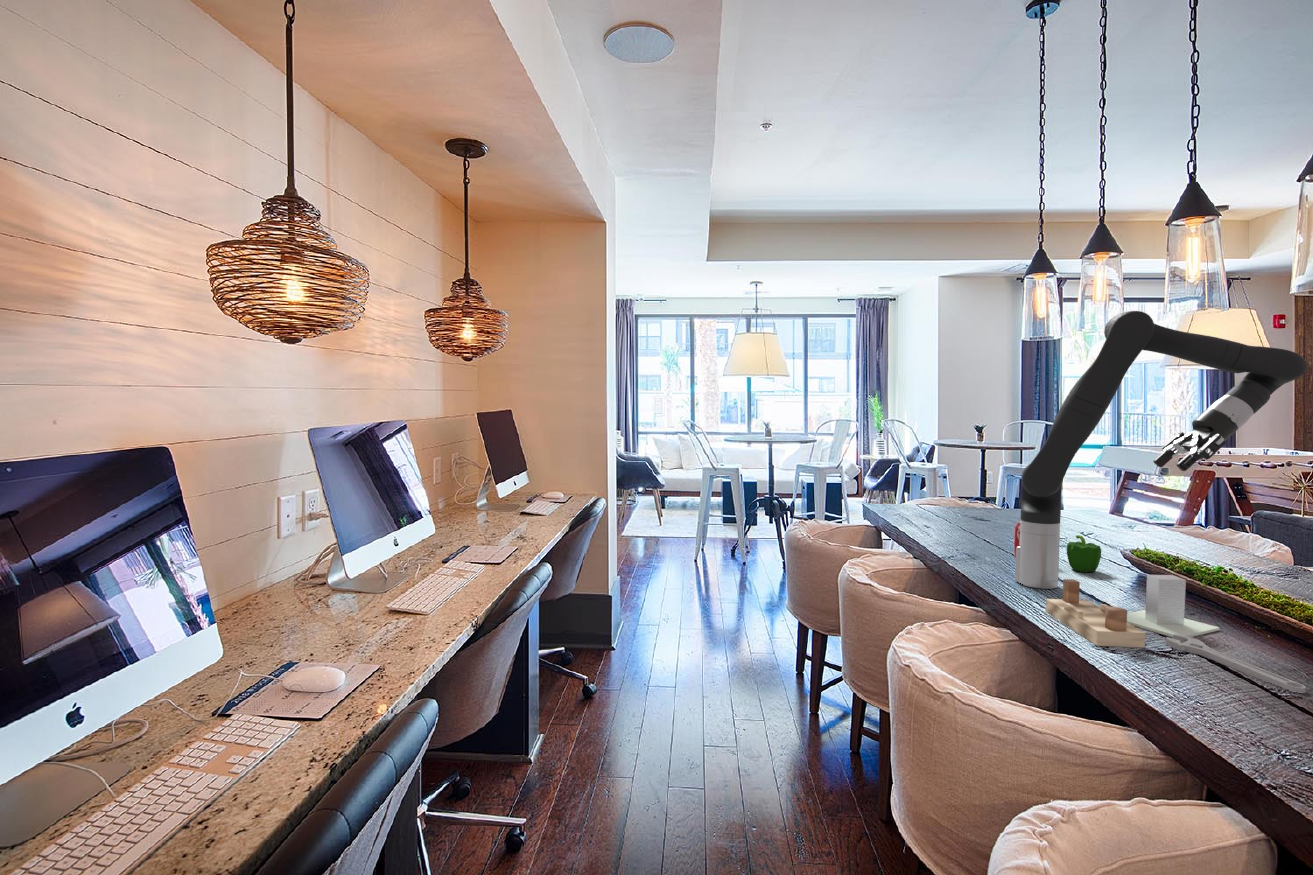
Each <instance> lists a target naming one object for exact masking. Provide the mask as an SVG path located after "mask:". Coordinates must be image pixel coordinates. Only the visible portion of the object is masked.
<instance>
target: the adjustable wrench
mask: <svg viewBox="0 0 1313 875" xmlns="http://www.w3.org/2000/svg"><path fill="white" fill-rule="evenodd" d="M1165 644H1166V645H1167V646H1168V647H1170V648H1172V649H1175V650H1177V651H1179V652H1185V653H1191V654H1194V655H1195V654H1196V655H1199V656H1202V657H1205V658H1207V659H1210V660H1212V661H1215V662H1217V663H1219V664H1222V665H1224V666H1227V667H1229V668H1232V669H1234V670H1237V671H1239V672H1242V673H1244V674H1246V675H1249V676H1251V677H1253V676H1254V677H1253V678H1256V679H1259V680H1260V679H1261V680H1260V681H1263V682H1266V683H1268V682H1270V683H1272V684H1271V685H1273V684H1275V685H1278V686H1280V687H1282V688H1285V689H1289V690H1292V691H1297V692H1305V693H1306V689H1307V688H1306V687H1307V686H1305V685H1304V684H1301V683H1299V682H1297V681H1295V680H1292V679H1289V678H1286V677H1285V676H1282V675H1279V674H1276V673H1273V672H1271V671H1268V670H1267V669H1266V670H1265V669H1264V668H1260V667H1259V666H1256V665H1254V664H1251V663H1248V662H1246V661H1243V660H1241V659H1238V658H1235V657H1233V656H1231V655H1228V654H1225V653H1223V652H1220V651H1217V650H1216V649H1213V648H1211V647H1209V646H1208V645H1207V644H1206V643H1204V642H1203V641H1202V640H1200V639H1198V638H1196V637H1189V636H1184V635H1177V634H1174V637H1170V636H1165ZM1270 683H1269V684H1270ZM1275 685H1274V686H1275ZM1280 687H1279V688H1280ZM1282 688H1281V689H1282ZM1285 689H1284V690H1285Z"/></svg>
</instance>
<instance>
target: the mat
mask: <svg viewBox="0 0 1313 875" xmlns="http://www.w3.org/2000/svg"><path fill="white" fill-rule="evenodd" d="M1145 611H1146V609H1143V610H1138V611H1132V612H1127V623H1129V624H1130V625H1132V626H1134V627H1136V628H1138V629H1139V628H1140V629H1143V630H1146V631H1150V632H1153V633H1157V634H1161V635H1163V636H1166V637H1169V638H1173V637H1174V634H1177V635H1184V636H1189V637H1193V638H1195V637H1197V636H1202V635H1205V634H1211V633H1214V632H1217V631H1220V630H1221V629H1220V627H1219V626H1215V625H1211V624H1208V623H1204V622H1200V621H1197V620H1192V619H1190V618H1185V617H1184V625H1157V624H1155V623H1153V622H1151V621H1149V620H1147V619H1145Z"/></svg>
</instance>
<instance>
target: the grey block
mask: <svg viewBox="0 0 1313 875" xmlns="http://www.w3.org/2000/svg"><path fill="white" fill-rule="evenodd" d="M1186 585H1187V579H1184V578H1182V577H1179V576H1176V575H1173V574H1146V588H1145V589H1146V593H1145V595H1146V596H1145V610H1146V611H1145V619H1147V620H1149V621H1151V622H1153V623H1155V624H1157V625H1184V618H1185V610H1186V609H1185V608H1186V606H1185V605H1186V588H1187V587H1186Z"/></svg>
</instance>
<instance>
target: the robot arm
mask: <svg viewBox="0 0 1313 875" xmlns="http://www.w3.org/2000/svg"><path fill="white" fill-rule="evenodd" d="M1103 332H1104V333H1103V334H1104V337H1105V341H1104V343H1103V346H1102V347H1101V349H1100V351H1099V353H1098V355H1097V357H1096V358H1095V359H1094V361H1093V363H1091V365H1090V366H1089V367H1088V368H1087V370H1086V371H1085V372H1084V373H1083V374H1082V375H1081V377H1080V378H1079V379H1078V380H1077V381H1076V382H1075V384H1074V385H1073V386H1072V388H1071V389H1070V391H1069V392H1068V394H1067V396H1066V397H1065V399H1064V401H1063V403H1062V405H1061V406H1060V408H1059V410H1058V412H1057V415H1056V417H1055V419H1054V421H1053V423H1052V425H1051V428H1050V431H1049V433H1048V436H1047V438H1046V440H1045V442H1044V444H1043V445H1042V447H1041V449H1040V450H1039V451H1038V453H1037V454H1036V456H1035V457H1034V459H1033V460H1032V461H1031V462H1030V463H1028V465H1026V467H1025V468H1024V469H1023V471H1022V474H1021V500H1020V520H1021V522H1020V546H1018V547H1016V558H1015V568H1014V569H1015V570H1014V571H1015V572H1014V582H1016V583H1019V584H1020V583H1021V584H1020V585H1022V584H1023V585H1022V586H1026V587H1029V588H1035V589H1042V590H1043V589H1045V590H1048V589H1049V590H1050V589H1051V590H1052V589H1053V590H1054V589H1057V588H1059V570H1060V569H1059V568H1060V567H1059V566H1060V541H1061V539H1060V538H1061V515H1062V513H1061V512H1062V511H1061V510H1062V484H1063V480H1064V478H1065V476H1066V473H1067V471H1068V470H1069V467H1070V465H1071V463H1072V461H1073V459H1074V458H1075V455H1076V454H1077V452H1078V451H1079V450H1080V449H1081V447H1082V446H1083V445H1084V444H1085V443H1086V441H1087V440H1088V439H1089V437H1090V436H1091V434H1092V433H1093V432H1094V431H1095V429H1096V427H1097V425H1098V424H1099V423H1100V421H1101V419H1102V418H1103V416H1104V415H1105V413H1106V412H1107V410H1108V408H1109V406H1110V404H1111V402H1112V400H1113V399H1114V398H1115V395H1116V394H1117V391H1118V389H1119V388H1120V385H1121V383H1122V382H1123V379H1124V377H1125V376H1126V373H1127V372H1128V370H1129V369H1130V367H1131V366H1132V365H1133V363H1134V362H1135V360H1136V359H1137V358H1138V356H1139V355H1140V353H1141V352H1142V351H1146V352H1153V353H1158V354H1162V355H1166V356H1170V357H1175V358H1177V359H1181V360H1185V361H1187V362H1191V363H1195V364H1198V365H1201V366H1205V367H1209V368H1210V369H1211V368H1212V369H1215V370H1219V371H1223V372H1226V373H1232V374H1241V373H1246V374H1245V375H1244V376H1243V377H1242V379H1241V380H1240V381H1239V383H1238V382H1237V383H1236V384H1235V385H1234V386H1233V387H1232V388H1230V390H1228V391H1227V392H1226V393H1225V394H1224V395H1223V396H1222V397H1220V398H1218V399H1217V400H1215V401H1214V402H1213V403H1212V404H1211V405H1209V407H1207V408H1206V409H1205V410H1204V411H1203V412H1202V413H1200V414H1199V415H1198V416H1197V417H1196V418H1195V419H1193V421H1191V427H1192V430H1191V431H1190V432H1187V433H1184V432H1183V430H1182V431H1181V430H1180V431H1178V432H1177V433H1176V434H1175V435H1174V436H1172V437H1171V438H1170V439H1168V441H1166V442H1165V443H1163V445H1161V446H1160V448H1161V449H1162V450H1163V452H1161V453H1160V454H1159V455H1158V456H1157V457H1156V458H1155V459H1154V460H1153V461H1152V462H1153V463H1154V465H1156V467H1158V468H1163V467H1164V466H1165V465H1167V463H1168V462H1170V461H1171V460H1173V458H1174V457H1176V456H1179V455H1181V454H1182V455H1185V454H1186V455H1185V456H1184V457H1183V458H1182V459H1181V460H1180V461H1178V462H1177V463H1176V467H1177V468H1178V469H1179V470H1180V471H1182V472H1186V471H1188V469H1190V468H1191V467H1192V466H1193V465H1194V464H1196V463H1197V462H1200V461H1202V460H1203V459H1204V460H1206V461H1207V460H1210V459H1211V458H1212V457H1213V456H1214V455H1215V454H1216V453H1217V452H1218V451H1219V450H1220V449H1222V447H1224V446H1225V445H1226V444H1227V440H1228V439H1229V438H1230V437H1231V436H1233V434H1235V433H1236V432H1237V431H1238V430H1239V429H1241V428H1242V427H1243V426H1244V425H1245V424H1246V423H1247V422H1248V421H1249V420H1250V418H1251V417H1253V416H1254V415H1255V414H1256V413H1258V411H1260V410H1261V408H1263V407H1264V406H1265V405H1266V404H1267V403H1268V402H1269V400H1270V399H1271V395H1272V394H1273V393H1274V392H1276V391H1277V390H1278V389H1280V388H1281V387H1282V386H1284V385H1285V384H1287V383H1289V382H1292V381H1295V380H1297V379H1299V378H1300V377H1302V376H1303V375H1304V374H1305V373H1306V371H1307V369H1308V368H1307V367H1308V365H1307V361H1306V359H1305V358H1304V357H1303V356H1302V355H1300V354H1299V353H1296V352H1295V351H1292V350H1289V349H1284V348H1280V347H1279V348H1278V347H1271V346H1269V347H1268V346H1260V345H1259V346H1258V345H1250V344H1249V345H1247V344H1245V343H1243V342H1242V343H1241V342H1237V341H1233V340H1230V339H1225V338H1220V337H1216V336H1211V335H1207V334H1200V333H1199V334H1198V333H1194V332H1193V333H1192V332H1186V331H1181V330H1176V329H1172V328H1169V327H1165V326H1162V325H1159V324H1156V323H1154V320H1153V318H1152V317H1151V316H1150V315H1149V314H1148V313H1146V312H1144V311H1140V310H1129V311H1128V310H1127V311H1124V312H1121V313H1119V314H1117V315H1114V316H1113V317H1111V318H1110V319H1109V320H1108V321H1107V323H1106V324H1105V327H1104V330H1103ZM1208 451H1209V452H1208ZM1188 452H1189V453H1188Z"/></svg>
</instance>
